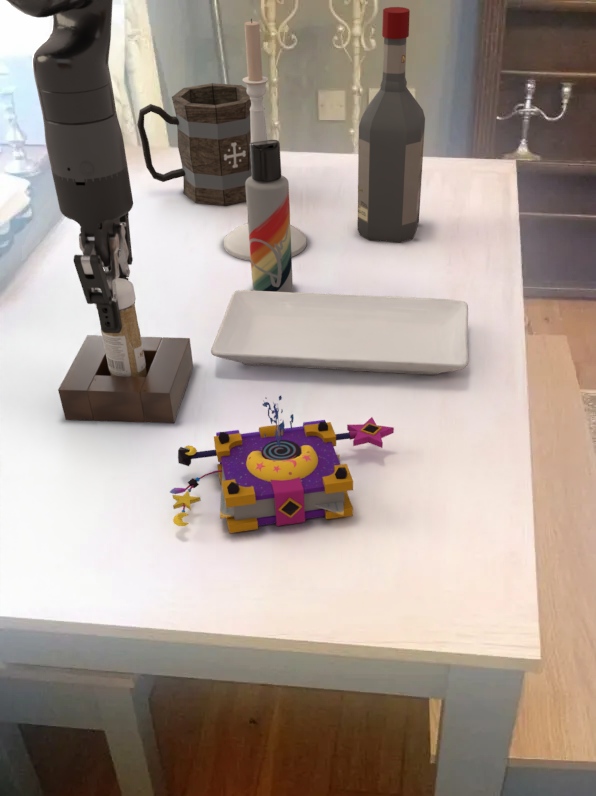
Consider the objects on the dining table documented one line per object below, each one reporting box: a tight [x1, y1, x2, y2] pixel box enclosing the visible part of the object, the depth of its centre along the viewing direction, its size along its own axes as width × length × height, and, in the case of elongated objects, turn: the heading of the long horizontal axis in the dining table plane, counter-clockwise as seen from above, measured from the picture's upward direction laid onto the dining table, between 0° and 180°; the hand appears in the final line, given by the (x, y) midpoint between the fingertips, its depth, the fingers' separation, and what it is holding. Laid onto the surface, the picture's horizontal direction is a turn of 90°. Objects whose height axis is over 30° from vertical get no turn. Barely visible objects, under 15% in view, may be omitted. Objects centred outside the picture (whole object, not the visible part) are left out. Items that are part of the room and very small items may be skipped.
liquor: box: [356, 6, 426, 244], centre depth 132 cm, size 9×9×30 cm
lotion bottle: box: [245, 139, 294, 292], centre depth 121 cm, size 6×6×20 cm
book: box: [169, 395, 395, 534], centre depth 90 cm, size 15×25×12 cm, turn 102°
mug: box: [136, 82, 252, 207], centre depth 150 cm, size 20×14×15 cm
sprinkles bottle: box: [94, 278, 147, 377], centre depth 104 cm, size 5×5×13 cm
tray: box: [210, 289, 469, 376], centre depth 115 cm, size 17×32×4 cm, turn 84°
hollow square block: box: [57, 334, 194, 424], centre depth 107 cm, size 13×13×4 cm
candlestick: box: [223, 18, 307, 262], centre depth 129 cm, size 13×13×30 cm
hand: (117, 319), depth 102 cm, fingers closed on sprinkles bottle, 4 cm apart
